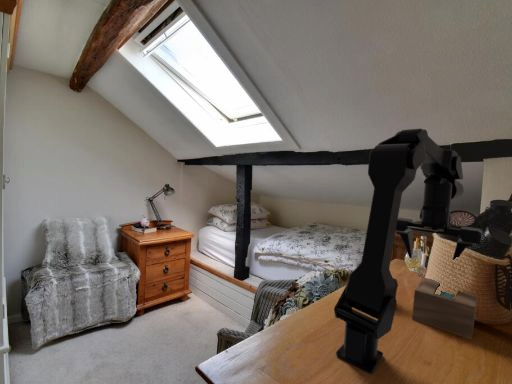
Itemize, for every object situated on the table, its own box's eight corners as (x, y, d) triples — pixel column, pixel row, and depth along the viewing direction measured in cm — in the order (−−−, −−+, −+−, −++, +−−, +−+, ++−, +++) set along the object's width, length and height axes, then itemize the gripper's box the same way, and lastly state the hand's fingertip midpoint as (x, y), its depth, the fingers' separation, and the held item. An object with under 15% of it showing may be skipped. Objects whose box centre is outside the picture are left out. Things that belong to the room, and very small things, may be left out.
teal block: (449, 323, 61) (452, 302, 61) (436, 319, 63) (438, 298, 63) (451, 314, 66) (453, 294, 65) (439, 310, 67) (441, 291, 67)
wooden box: (471, 339, 57) (475, 307, 56) (412, 319, 64) (414, 290, 63) (474, 319, 65) (478, 291, 64) (421, 303, 72) (424, 277, 72)
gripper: (486, 204, 68) (479, 264, 69) (404, 196, 80) (399, 248, 82) (484, 207, 60) (476, 276, 61) (392, 198, 72) (388, 256, 74)
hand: (430, 262), depth 70 cm, fingers open, 9 cm apart
